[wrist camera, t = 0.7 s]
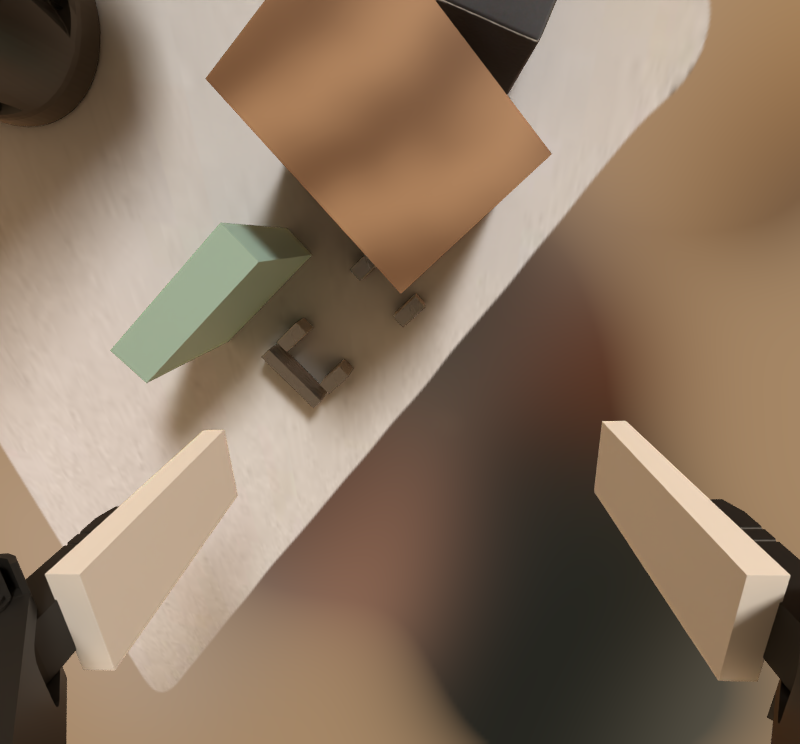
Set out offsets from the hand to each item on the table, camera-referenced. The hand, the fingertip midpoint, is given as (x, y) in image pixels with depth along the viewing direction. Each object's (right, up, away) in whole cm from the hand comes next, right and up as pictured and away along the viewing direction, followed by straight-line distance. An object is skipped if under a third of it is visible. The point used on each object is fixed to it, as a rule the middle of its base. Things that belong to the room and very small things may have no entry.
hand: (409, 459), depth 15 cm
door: (-13, +11, +23) cm, 28 cm away
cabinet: (0, +20, +19) cm, 27 cm away
